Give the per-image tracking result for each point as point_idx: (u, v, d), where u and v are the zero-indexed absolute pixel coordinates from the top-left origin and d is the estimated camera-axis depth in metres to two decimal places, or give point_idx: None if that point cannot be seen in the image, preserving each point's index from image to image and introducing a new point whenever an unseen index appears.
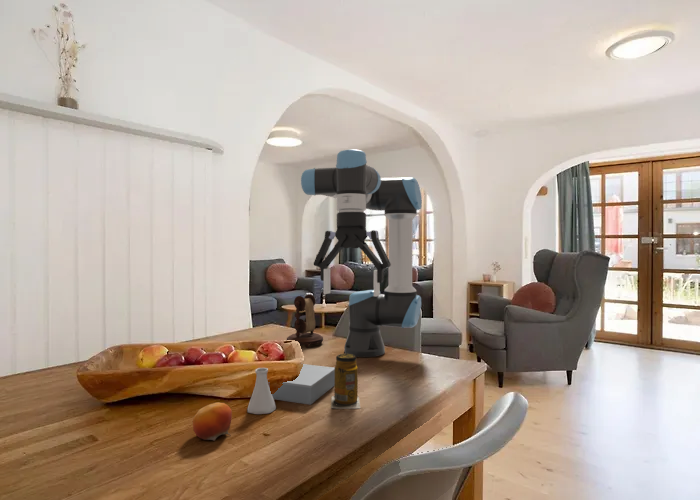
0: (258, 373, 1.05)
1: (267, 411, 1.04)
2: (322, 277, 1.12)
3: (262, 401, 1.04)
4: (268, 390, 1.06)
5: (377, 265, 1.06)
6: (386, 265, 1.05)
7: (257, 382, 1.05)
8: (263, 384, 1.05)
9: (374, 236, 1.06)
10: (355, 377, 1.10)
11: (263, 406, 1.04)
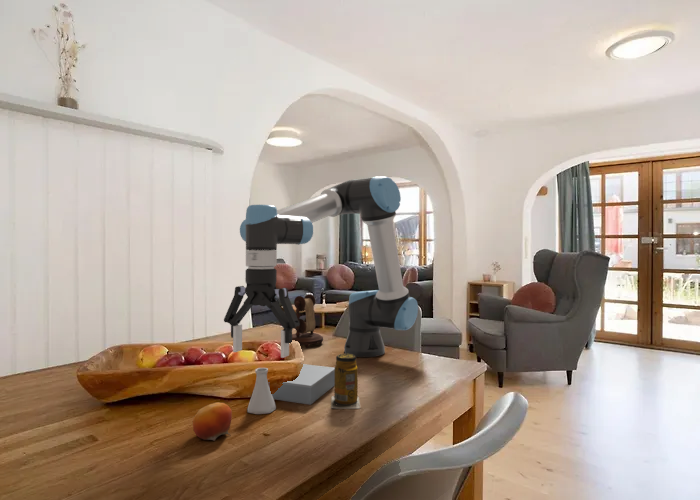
0: (258, 373, 1.05)
1: (267, 411, 1.04)
2: (232, 334, 1.08)
3: (262, 401, 1.04)
4: (268, 390, 1.06)
5: (284, 325, 1.02)
6: (293, 326, 1.01)
7: (257, 382, 1.05)
8: (263, 384, 1.05)
9: (282, 295, 1.03)
10: (355, 377, 1.10)
11: (263, 406, 1.04)
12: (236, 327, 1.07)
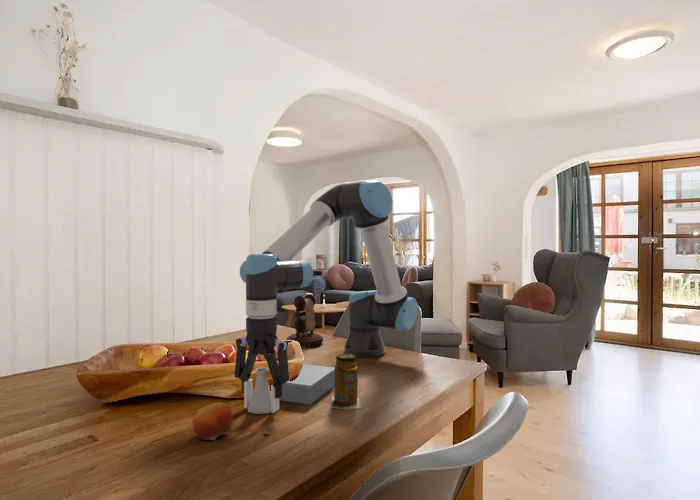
0: (258, 373, 1.05)
1: (267, 411, 1.04)
2: (243, 390, 1.07)
3: (262, 401, 1.04)
4: (268, 390, 1.06)
5: (275, 380, 1.04)
6: (282, 382, 1.03)
7: (257, 382, 1.05)
8: (263, 384, 1.05)
9: (281, 349, 1.03)
10: (355, 377, 1.10)
11: (263, 406, 1.04)
12: (247, 383, 1.07)
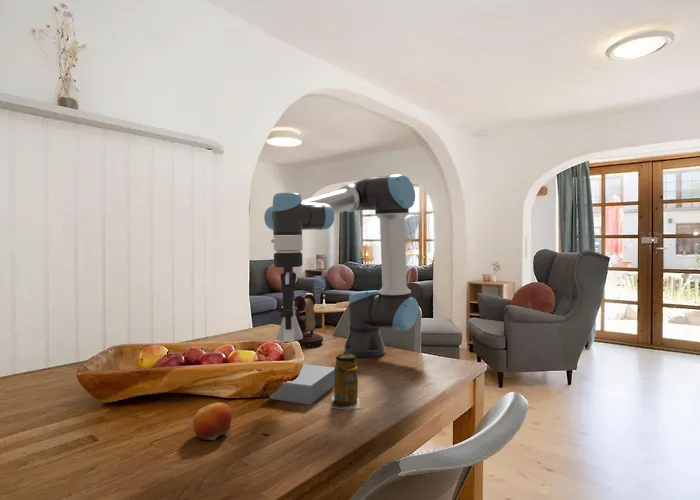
0: None
1: (281, 339, 1.11)
2: None
3: (281, 329, 1.12)
4: None
5: None
6: (282, 314, 1.07)
7: None
8: None
9: None
10: (355, 377, 1.10)
11: (280, 333, 1.12)
12: None
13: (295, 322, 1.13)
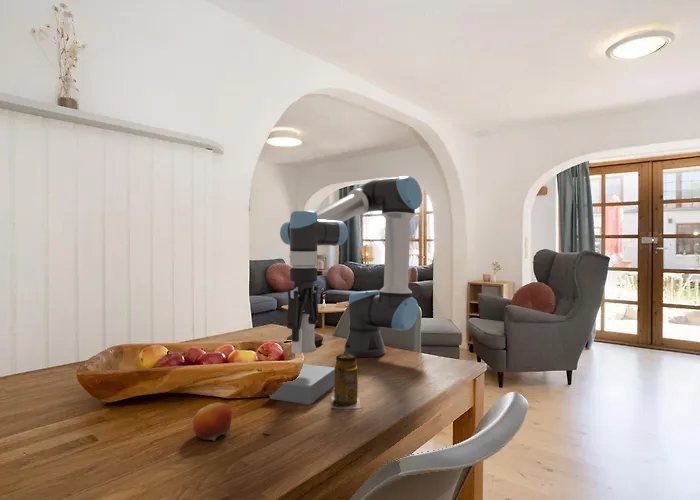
0: None
1: None
2: None
3: None
4: None
5: None
6: None
7: None
8: None
9: None
10: (355, 377, 1.10)
11: None
12: None
13: (306, 335, 1.17)
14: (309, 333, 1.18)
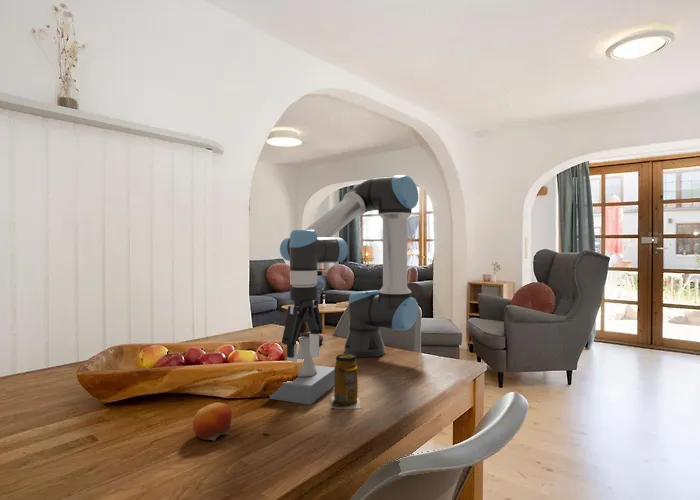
0: None
1: None
2: None
3: None
4: (301, 357, 1.17)
5: None
6: None
7: None
8: (299, 350, 1.18)
9: None
10: (355, 377, 1.10)
11: None
12: (310, 335, 1.25)
13: (307, 358, 1.17)
14: (309, 356, 1.18)
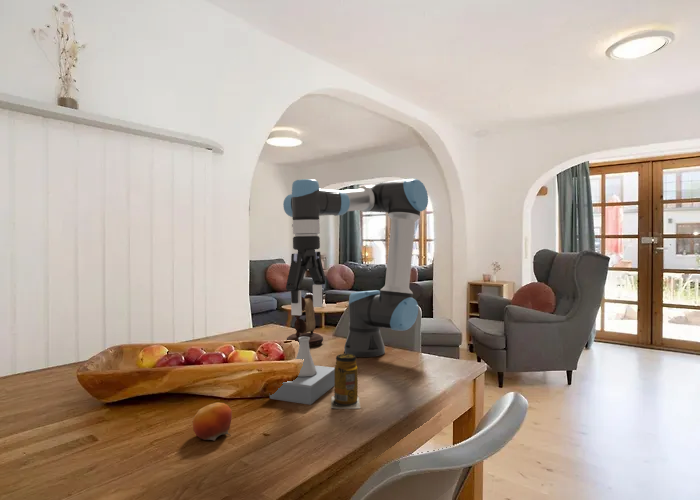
0: None
1: None
2: None
3: None
4: (301, 357, 1.17)
5: None
6: None
7: None
8: (299, 350, 1.18)
9: None
10: (355, 377, 1.10)
11: None
12: (313, 286, 1.27)
13: (307, 358, 1.17)
14: (310, 356, 1.18)
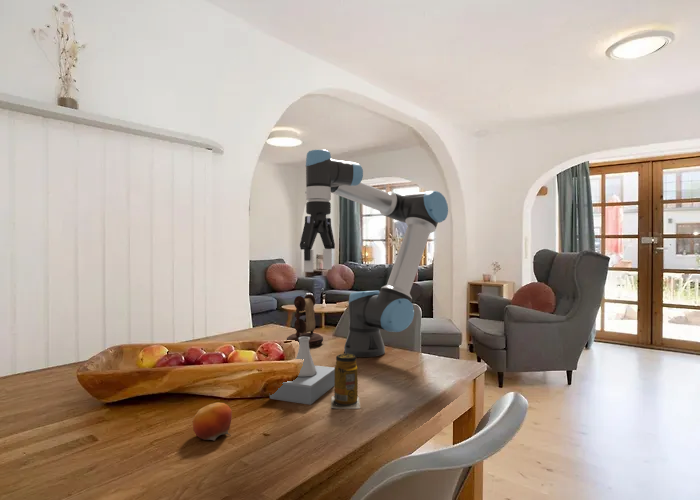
0: None
1: None
2: None
3: None
4: (301, 357, 1.17)
5: None
6: None
7: None
8: (299, 350, 1.18)
9: None
10: (355, 377, 1.10)
11: None
12: (324, 250, 1.39)
13: (307, 358, 1.17)
14: (309, 356, 1.18)
